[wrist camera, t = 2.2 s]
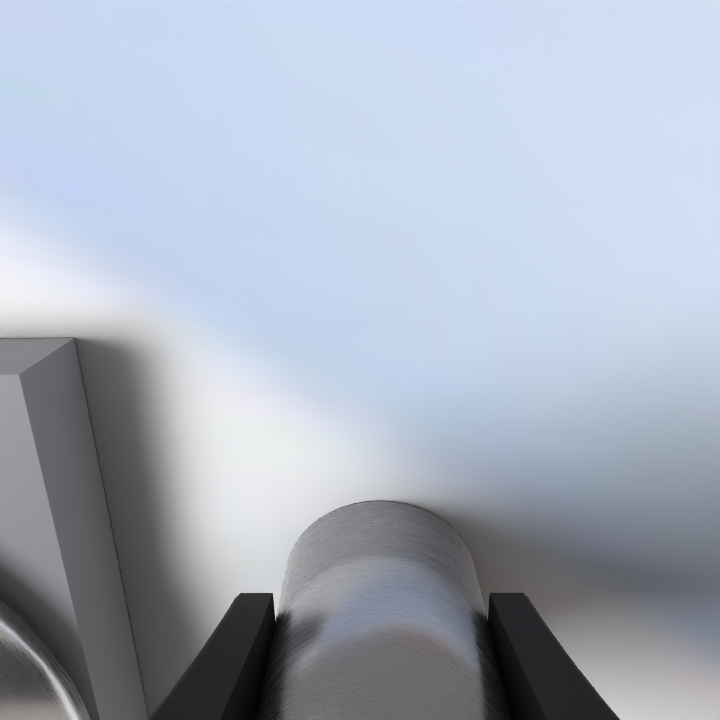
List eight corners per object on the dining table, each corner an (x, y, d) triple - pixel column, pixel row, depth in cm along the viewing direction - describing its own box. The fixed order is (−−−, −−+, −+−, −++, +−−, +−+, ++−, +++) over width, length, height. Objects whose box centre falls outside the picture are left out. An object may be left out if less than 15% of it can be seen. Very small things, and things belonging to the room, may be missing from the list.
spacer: (471, 655, 13) (524, 937, 9) (291, 654, 13) (247, 933, 9) (480, 500, 12) (550, 736, 7) (279, 501, 12) (218, 735, 7)
